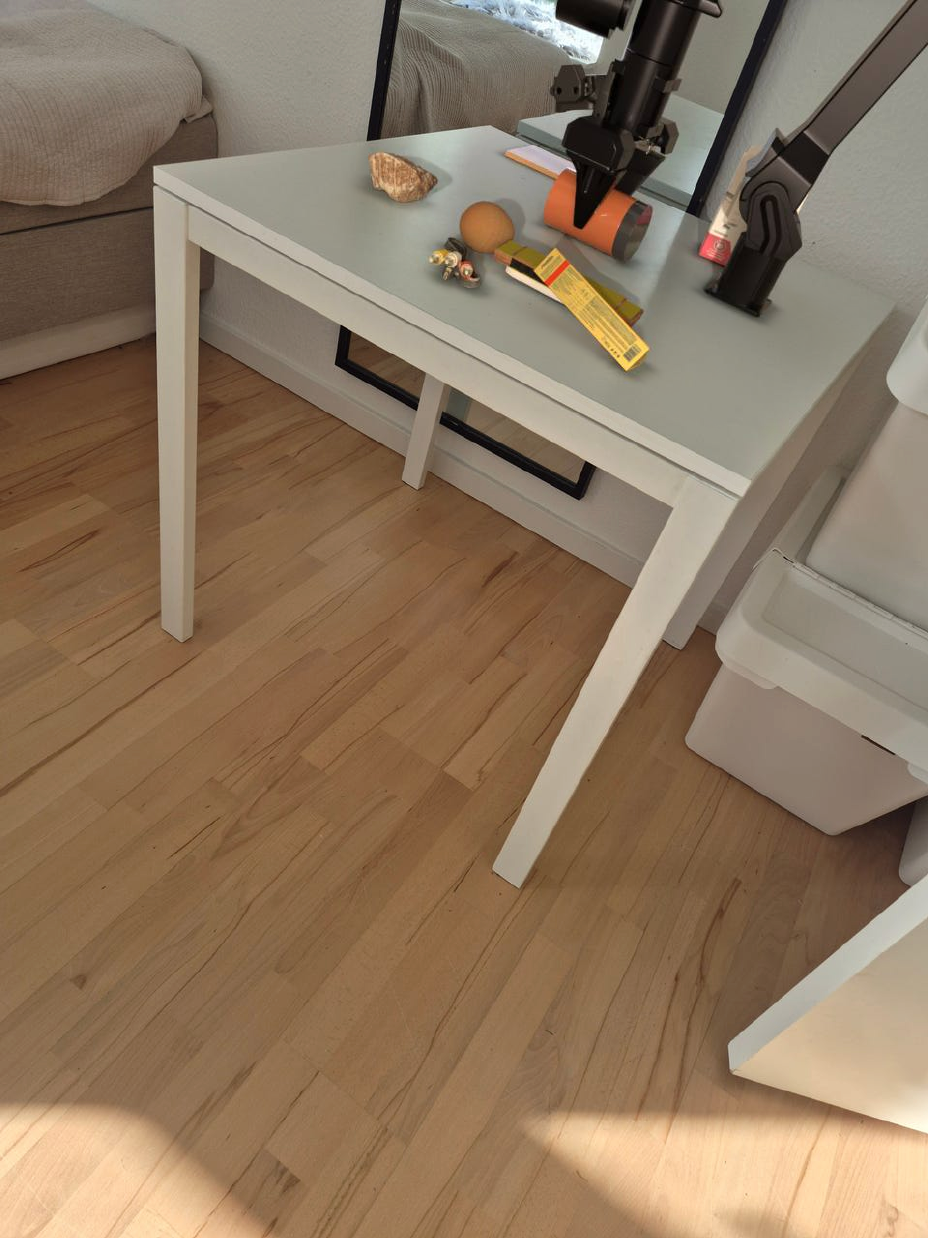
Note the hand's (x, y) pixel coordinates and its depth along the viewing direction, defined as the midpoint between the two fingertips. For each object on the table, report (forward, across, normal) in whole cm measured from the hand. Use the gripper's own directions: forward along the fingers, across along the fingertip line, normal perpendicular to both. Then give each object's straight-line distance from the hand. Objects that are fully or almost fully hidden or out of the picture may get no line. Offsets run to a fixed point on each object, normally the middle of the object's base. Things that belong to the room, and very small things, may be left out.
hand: (593, 220), depth 91 cm
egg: (-1, +20, -6) cm, 21 cm away
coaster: (+2, -21, -16) cm, 26 cm away
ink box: (+2, -16, +14) cm, 21 cm away
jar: (+2, 0, 0) cm, 2 cm away
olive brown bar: (0, +19, +6) cm, 20 cm away
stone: (+2, +16, -16) cm, 23 cm away
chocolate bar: (-1, +26, +10) cm, 28 cm away
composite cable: (+2, +24, -3) cm, 24 cm away
